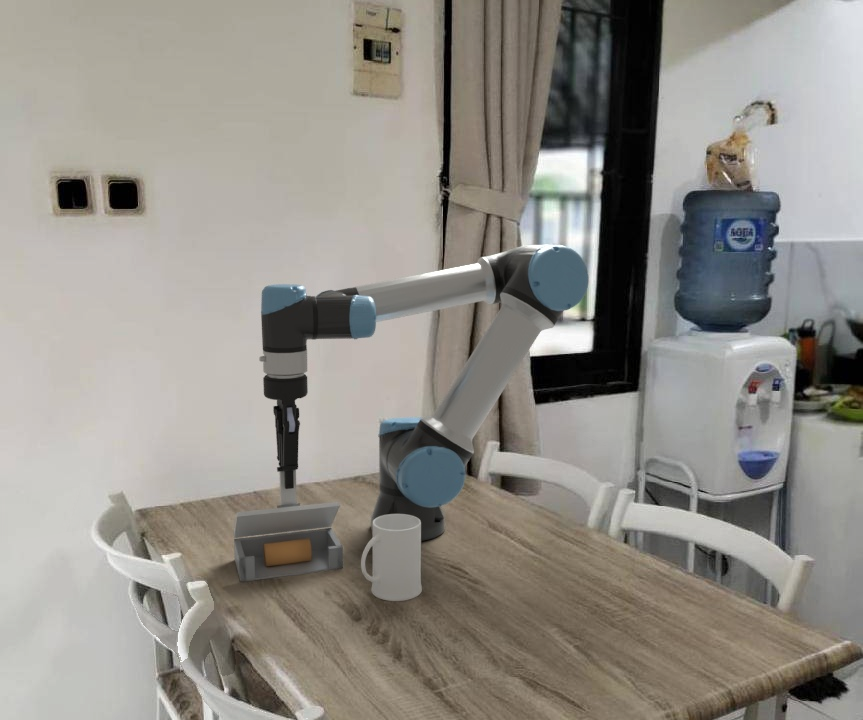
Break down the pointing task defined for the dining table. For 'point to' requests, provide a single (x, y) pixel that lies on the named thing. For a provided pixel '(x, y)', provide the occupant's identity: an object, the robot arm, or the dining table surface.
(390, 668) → the dining table surface
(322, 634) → the dining table surface
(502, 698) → the dining table surface
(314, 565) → the shallow grey tray
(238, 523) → the lid
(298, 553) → the tan foam roller
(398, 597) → the mug
